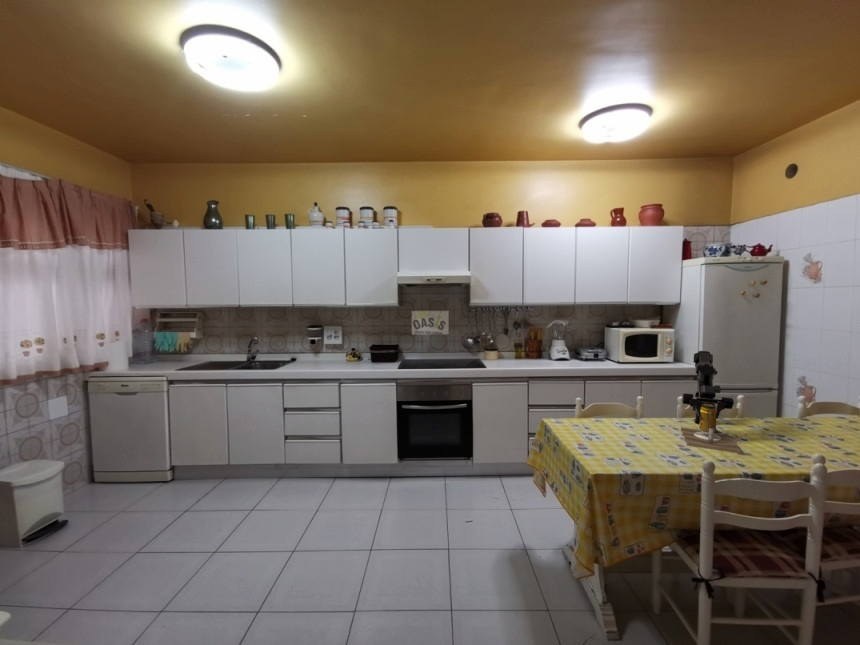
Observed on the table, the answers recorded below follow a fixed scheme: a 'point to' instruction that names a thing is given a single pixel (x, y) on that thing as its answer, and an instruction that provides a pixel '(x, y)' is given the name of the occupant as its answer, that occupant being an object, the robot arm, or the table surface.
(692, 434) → the locating plate
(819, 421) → the table surface
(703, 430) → the condiment
